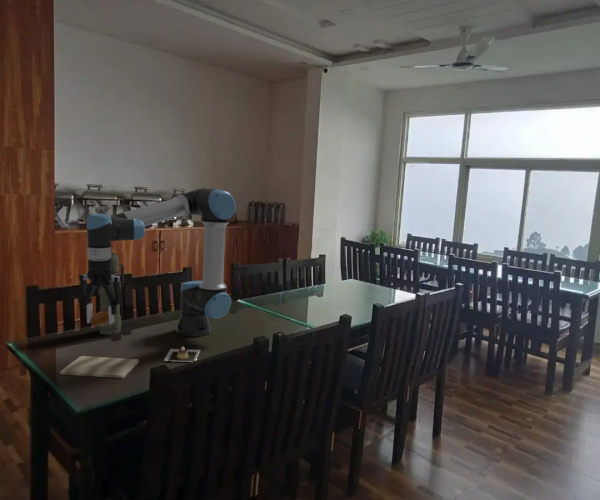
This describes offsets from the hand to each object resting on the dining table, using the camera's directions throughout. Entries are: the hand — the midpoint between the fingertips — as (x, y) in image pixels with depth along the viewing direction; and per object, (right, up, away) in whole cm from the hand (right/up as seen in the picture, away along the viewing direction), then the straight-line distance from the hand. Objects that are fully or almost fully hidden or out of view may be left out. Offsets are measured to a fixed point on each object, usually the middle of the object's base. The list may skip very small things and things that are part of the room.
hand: (100, 322), depth 162 cm
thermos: (-13, -11, +39) cm, 43 cm away
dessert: (+25, -17, +17) cm, 34 cm away
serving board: (-1, -17, +3) cm, 17 cm away
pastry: (0, -1, +1) cm, 1 cm away
